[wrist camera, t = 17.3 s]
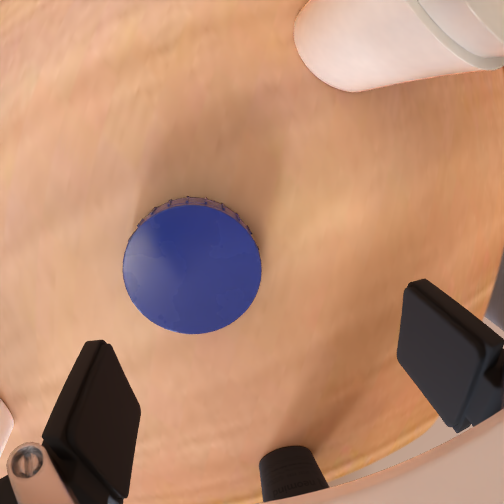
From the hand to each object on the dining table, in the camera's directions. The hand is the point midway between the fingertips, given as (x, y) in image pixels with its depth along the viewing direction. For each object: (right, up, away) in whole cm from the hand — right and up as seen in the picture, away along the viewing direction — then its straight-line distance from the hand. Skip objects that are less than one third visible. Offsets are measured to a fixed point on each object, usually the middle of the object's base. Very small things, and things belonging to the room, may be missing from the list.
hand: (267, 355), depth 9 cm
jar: (+5, +14, +4) cm, 16 cm away
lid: (-3, +2, +6) cm, 7 cm away
